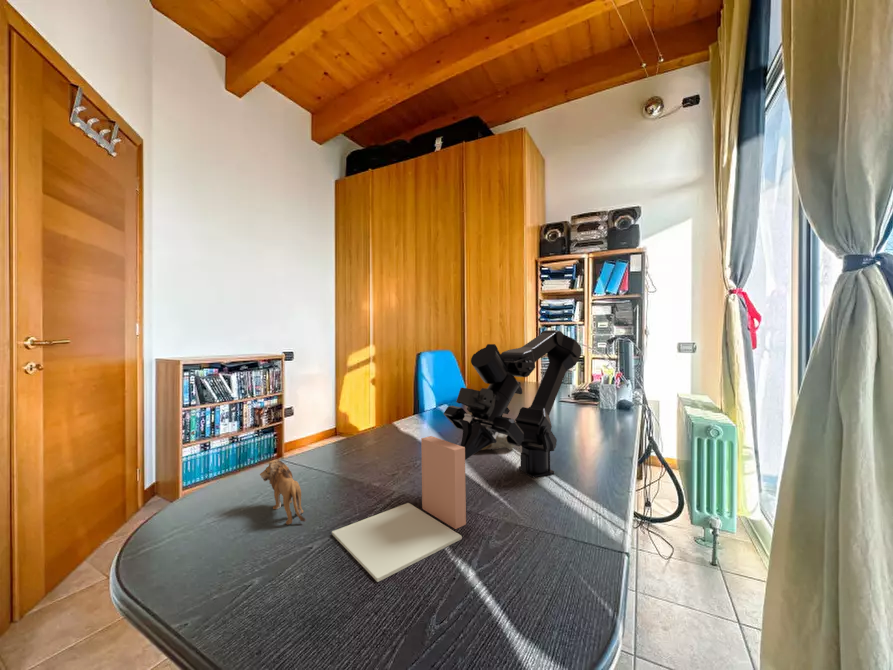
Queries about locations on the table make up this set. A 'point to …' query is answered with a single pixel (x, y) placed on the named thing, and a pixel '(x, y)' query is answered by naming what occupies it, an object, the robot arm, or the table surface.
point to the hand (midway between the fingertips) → (460, 459)
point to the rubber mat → (394, 539)
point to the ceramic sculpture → (500, 443)
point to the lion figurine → (284, 488)
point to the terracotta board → (444, 480)
